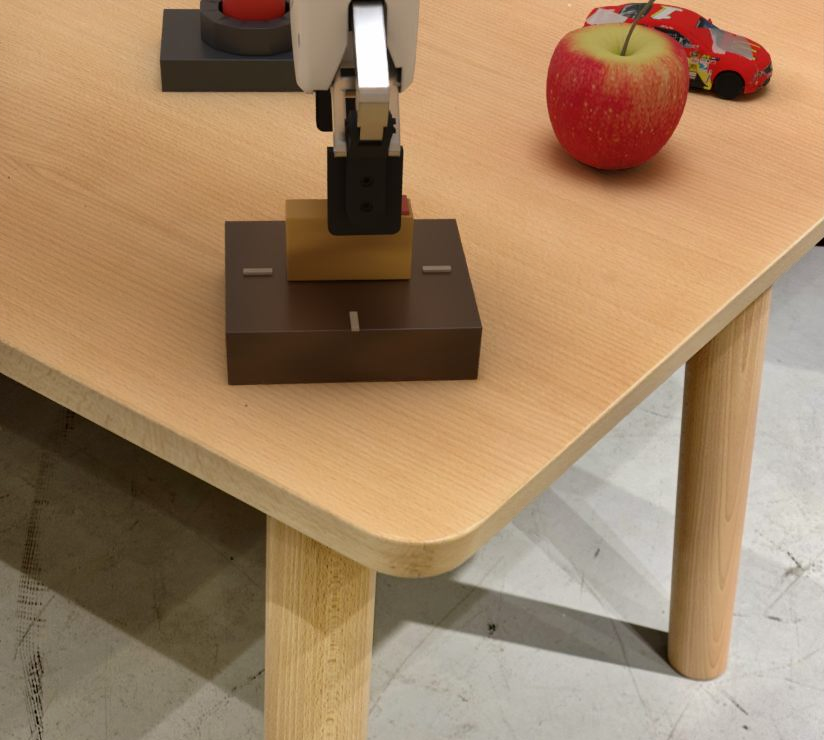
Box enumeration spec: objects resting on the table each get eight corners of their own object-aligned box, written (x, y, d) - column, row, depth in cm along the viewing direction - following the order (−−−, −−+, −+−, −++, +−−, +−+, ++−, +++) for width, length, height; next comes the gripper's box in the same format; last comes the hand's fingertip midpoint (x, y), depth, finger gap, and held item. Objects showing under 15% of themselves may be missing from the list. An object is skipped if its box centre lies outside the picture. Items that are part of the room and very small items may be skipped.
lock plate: (227, 386, 65) (225, 330, 63) (226, 269, 73) (224, 216, 71) (478, 380, 67) (483, 326, 65) (451, 266, 74) (455, 214, 72)
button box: (162, 92, 88) (157, 31, 85) (165, 40, 94) (161, -19, 91) (350, 92, 89) (351, 32, 87) (342, 40, 95) (343, -18, 92)
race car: (774, 77, 94) (788, 19, 92) (760, 109, 90) (774, 50, 88) (588, 38, 97) (596, -18, 95) (567, 68, 94) (575, 10, 91)
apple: (701, 179, 83) (735, 16, 76) (576, 201, 80) (600, 34, 73) (633, 119, 88) (659, -39, 82) (514, 137, 86) (531, -24, 79)
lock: (287, 281, 67) (286, 213, 64) (285, 261, 68) (285, 194, 66) (410, 280, 68) (414, 212, 65) (406, 260, 69) (410, 193, 66)
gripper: (257, -283, 59) (269, 96, 70) (267, -157, 46) (281, 280, 58) (431, -280, 60) (416, 94, 71) (489, -155, 47) (459, 276, 58)
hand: (355, 177), depth 64 cm, fingers open, 9 cm apart
